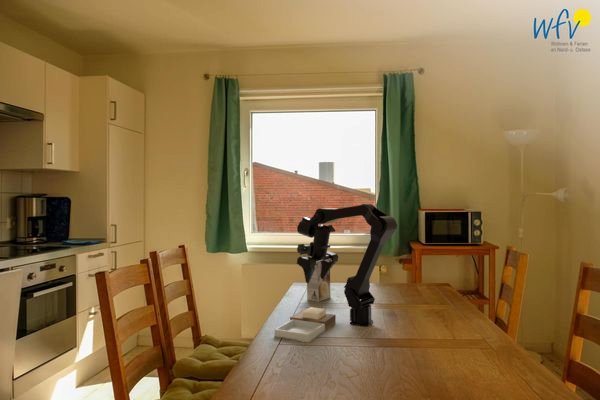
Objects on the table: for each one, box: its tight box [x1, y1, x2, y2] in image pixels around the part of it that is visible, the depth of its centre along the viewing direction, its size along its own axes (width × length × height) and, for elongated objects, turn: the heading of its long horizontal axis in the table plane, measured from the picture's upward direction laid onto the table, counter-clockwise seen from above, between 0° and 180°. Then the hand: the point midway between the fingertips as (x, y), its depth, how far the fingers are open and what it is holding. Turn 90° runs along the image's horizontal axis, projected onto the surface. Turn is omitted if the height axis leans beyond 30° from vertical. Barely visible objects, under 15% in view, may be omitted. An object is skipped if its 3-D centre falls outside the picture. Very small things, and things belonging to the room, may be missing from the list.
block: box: [301, 306, 327, 320], centre depth 144 cm, size 6×6×2 cm
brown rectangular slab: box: [289, 310, 336, 332], centre depth 145 cm, size 13×9×3 cm
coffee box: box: [306, 261, 331, 303], centre depth 180 cm, size 9×6×16 cm
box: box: [274, 319, 326, 343], centre depth 135 cm, size 12×12×2 cm
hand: (314, 280), depth 159 cm, fingers open, 9 cm apart
